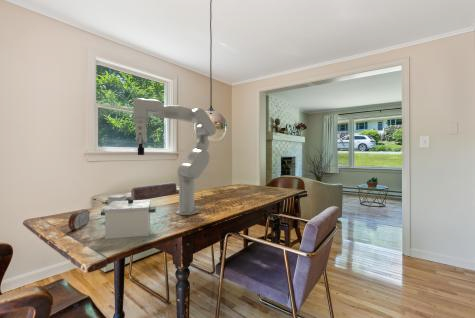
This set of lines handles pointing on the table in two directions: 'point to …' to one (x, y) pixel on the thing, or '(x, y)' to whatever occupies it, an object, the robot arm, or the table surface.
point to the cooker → (127, 223)
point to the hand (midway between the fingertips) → (141, 154)
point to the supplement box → (116, 198)
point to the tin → (78, 219)
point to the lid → (128, 205)
